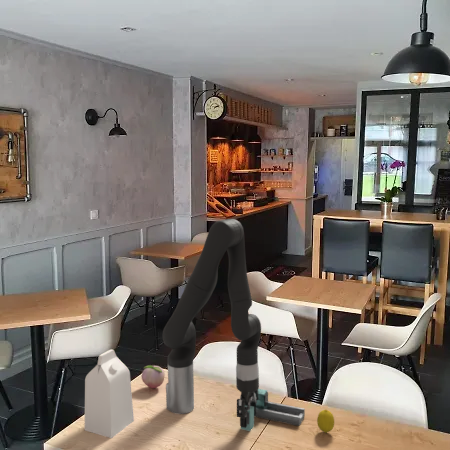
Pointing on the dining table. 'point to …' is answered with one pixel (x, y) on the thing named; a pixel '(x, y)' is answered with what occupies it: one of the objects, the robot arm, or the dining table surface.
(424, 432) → the dining table surface
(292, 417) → the rail
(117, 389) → the milk
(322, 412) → the lemon
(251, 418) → the block
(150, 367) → the decorative fruit
